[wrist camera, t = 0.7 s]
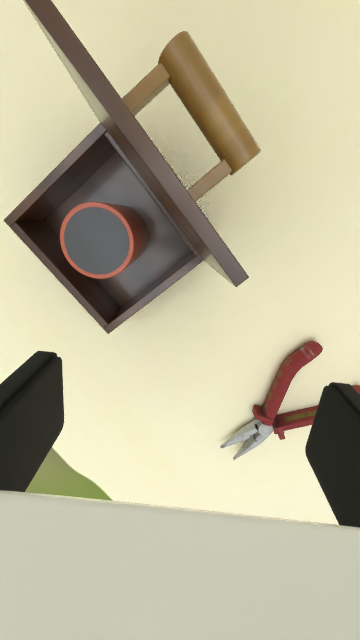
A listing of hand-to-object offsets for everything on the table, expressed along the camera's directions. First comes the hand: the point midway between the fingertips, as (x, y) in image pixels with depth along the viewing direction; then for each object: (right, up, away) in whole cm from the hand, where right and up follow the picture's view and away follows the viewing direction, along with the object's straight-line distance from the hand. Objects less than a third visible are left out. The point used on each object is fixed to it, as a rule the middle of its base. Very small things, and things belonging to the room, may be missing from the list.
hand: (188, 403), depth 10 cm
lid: (-2, +12, +9) cm, 15 cm away
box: (-7, +13, +24) cm, 28 cm away
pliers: (+13, -8, +31) cm, 34 cm away
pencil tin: (-7, +13, +23) cm, 27 cm away
